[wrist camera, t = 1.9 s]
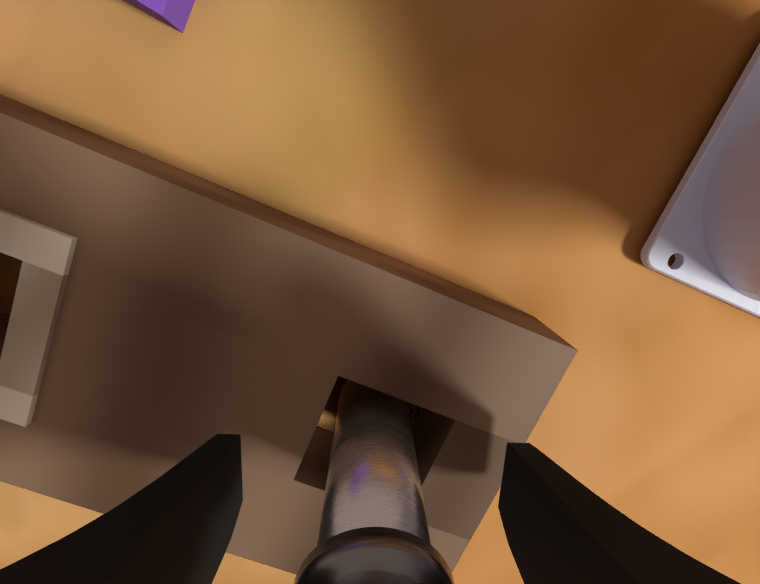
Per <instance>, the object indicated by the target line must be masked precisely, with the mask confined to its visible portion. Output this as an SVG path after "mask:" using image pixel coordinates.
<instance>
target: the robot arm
mask: <svg viewBox="0 0 760 584" xmlns="http://www.w3.org/2000/svg"><path fill="white" fill-rule="evenodd" d="M673 254H675V261H674V263H673V264H672V265H671V266H668V259H669V257H670V256H671V255H673ZM641 261H642V263H643V265H645V266H646V267H647V268H649V269H652V270H654V271H656V272H658V273H661V274H663V275H665V276H667V277H670V278H672V279H674V280H676V281H679V282H681V283H683V284H685V285H687V286H690V287H692V288H694V289H696V290H699V291H701V292H703V293H705V294H708V295H710V296H712V297H714V298H717V299H719V300H721V301H723V302H725V303H728V304H730V305H732V306H734V307H737V308H739V309H741V310H743V311H746V312H748V313H750V314H752V315H755V316H757V317H759V318H760V43H759V45H758V46H757V48H756V50H755V52H754V53H753V55H752V57H751V59H750V60H749V62H748V64H747V66H746V67H745V69H744V71H743V73H742V74H741V76H740V78H739V80H738V81H737V83H736V85H735V87H734V88H733V90H732V92H731V94H730V95H729V97H728V99H727V101H726V102H725V104H724V106H723V108H722V109H721V111H720V113H719V115H718V117H717V118H716V120H715V122H714V124H713V125H712V127H711V129H710V131H709V132H708V134H707V136H706V138H705V139H704V141H703V143H702V145H701V146H700V148H699V150H698V152H697V153H696V155H695V157H694V159H693V160H692V162H691V164H690V166H689V167H688V169H687V171H686V173H685V174H684V176H683V178H682V180H681V181H680V183H679V185H678V187H677V188H676V190H675V192H674V194H673V195H672V197H671V199H670V201H669V202H668V204H667V206H666V208H665V209H664V211H663V213H662V215H661V216H660V218H659V220H658V222H657V223H656V225H655V227H654V229H653V230H652V232H651V234H650V236H649V237H648V239H647V241H646V243H645V244H644V246H643V248H642V251H641ZM242 502H243V487H242V460H241V434H217V435H215V436H214V437H212V438H211V439H209V440H208V441H207V442H205V443H204V444H203V445H201V446H200V447H199V448H198V449H196V450H195V451H194V452H192V453H191V454H190V455H188V456H187V457H186V458H184V459H183V460H182V461H180V462H179V463H178V464H176V465H175V466H174V467H172V468H171V469H170V470H168V471H167V472H166V473H164V474H163V475H162V476H160V477H159V478H157V479H156V480H155V481H153V482H152V483H150V484H149V485H147V486H146V487H144V488H143V489H141V490H140V491H139V492H137V493H136V494H134V495H133V496H131V497H130V498H128V499H127V500H125V501H124V502H122V503H121V504H119V505H118V506H116V507H115V508H113V509H112V510H110V511H108V512H107V513H105V514H103V515H102V516H100V517H99V518H97V519H95V520H94V521H92V522H90V523H88V524H87V525H85V526H83V527H81V528H80V529H78V530H76V531H75V532H73V533H71V534H69V535H67V536H66V537H64V538H62V539H60V540H58V541H56V542H54V543H52V544H50V545H48V546H46V547H44V548H42V549H40V550H38V551H36V552H34V553H33V554H31V555H29V556H27V557H25V558H23V559H21V560H19V561H17V562H15V563H13V564H11V565H9V566H7V567H5V568H3V569H0V584H212V581H213V579H214V577H215V575H216V572H217V570H218V568H219V566H220V563H221V561H222V559H223V556H224V554H225V552H226V549H227V547H228V545H229V542H230V540H231V537H232V534H233V531H234V528H235V525H236V522H237V518H238V515H239V512H240V508H241V505H242ZM498 507H499V511H500V515H501V519H502V523H503V526H504V530H505V533H506V537H507V540H508V544H509V547H510V549H511V552H512V554H513V557H514V559H515V562H516V564H517V567H518V569H519V572H520V574H521V577H522V579H523V581H524V584H740V583H738V582H736V581H735V580H733V579H731V578H729V577H727V576H725V575H723V574H721V573H720V572H718V571H716V570H714V569H712V568H710V567H708V566H707V565H705V564H703V563H701V562H699V561H697V560H696V559H694V558H692V557H690V556H689V555H687V554H685V553H683V552H682V551H680V550H678V549H677V548H675V547H673V546H672V545H670V544H669V543H667V542H665V541H664V540H662V539H660V538H659V537H657V536H655V535H654V534H652V533H651V532H649V531H647V530H646V529H644V528H643V527H641V526H640V525H638V524H637V523H635V522H634V521H632V520H631V519H629V518H628V517H627V516H625V515H624V514H622V513H621V512H619V511H618V510H617V509H615V508H614V507H612V506H611V505H609V504H608V503H607V502H605V501H604V500H603V499H601V498H600V497H599V496H597V495H596V494H595V493H593V492H592V491H591V490H589V489H588V488H587V487H585V486H584V485H583V484H581V483H580V482H579V481H578V480H576V479H575V478H574V477H572V476H571V475H570V474H569V473H567V472H566V471H565V470H564V469H562V468H561V467H560V466H559V465H557V464H556V463H555V462H554V461H552V460H551V459H550V458H548V457H547V456H546V455H545V454H543V453H542V452H541V451H539V450H538V449H537V448H535V447H534V446H533V445H531V444H530V443H508V442H507V446H506V453H505V460H504V468H503V475H502V483H501V490H500V497H499V505H498Z"/></svg>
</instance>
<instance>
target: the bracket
mask: <svg viewBox="0 0 760 584" xmlns="http://www.w3.org/2000/svg"><path fill="white" fill-rule="evenodd" d="M124 1H126V2H127V3H129V4H131V5H133V6H135V7H137V8H138V9H140V10H142V11H144V12H146V13H147V14H149V15H151V16H153V17H155V18H156V19H158V20H160V21H162V22H164V23H165V24H167V25H169V26H171V27H173V28H174V29H176V30H178V31H180V32H182V33H183V31H184V29H185V26H186V23H187V20H188V18H189V15H190V12H191V10H192V7H193V4H194V1H195V0H124Z"/></svg>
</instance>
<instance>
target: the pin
mask: <svg viewBox="0 0 760 584" xmlns="http://www.w3.org/2000/svg"><path fill="white" fill-rule="evenodd" d="M294 584H454V582H453V577H452V574H451V571H450V568H449V566H448V564H447V563H446V561H445V559H444V558H443V557H442V555H441V554H440V553H439V552H438V551H437V550H436V549H435V548H434V547H433V546H432V545H431V542H430V536H429V530H428V524H427V518H426V512H425V506H424V500H423V494H422V488H421V482H420V476H419V470H418V464H417V458H416V452H415V446H414V440H413V434H412V429H411V423H410V417H409V411H408V405H407V401H404V400H401V399H399V398H396V397H393V396H391V395H388V394H385V393H383V392H380V391H377V390H375V389H372V388H369V387H367V386H364V385H362V384H359V383H356V382H354V381H351V380H348V379H347V381H346V382H345V383H344V385H343V387H342V389H341V392H340V398H339V404H338V410H337V417H336V423H335V430H334V436H333V443H332V449H331V456H330V462H329V468H328V475H327V481H326V488H325V494H324V501H323V507H322V514H321V520H320V526H319V533H318V539H317V546H316V548H315V549H314V550H313V551H312V552H311V553H309V554H308V556H307V557H306V558H305V560H304V561H303V562H302V564H301V566H300V568H299V570H298V572H297V575H296V578H295V583H294Z"/></svg>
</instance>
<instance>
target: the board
mask: <svg viewBox="0 0 760 584" xmlns="http://www.w3.org/2000/svg"><path fill="white" fill-rule="evenodd" d="M0 252H1V253H3V254H6V255H9V256H11V257H14V258H17V259H19V260H22V265H21V270H20V274H19V279H18V283H17V288H16V292H15V297H14V301H13V306H12V310H11V314H10V317H9V316H6V315H4V314H1V313H0V481H2V482H5V483H8V484H11V485H14V486H17V487H21V488H24V489H27V490H30V491H33V492H36V493H40V494H43V495H46V496H49V497H52V498H55V499H59V500H62V501H65V502H68V503H71V504H74V505H78V506H81V507H84V508H87V509H90V510H94V511H97V512H100V513H103V514H105V513H107V512H108V511H110V510H112V509H113V508H115V507H116V506H118V505H119V504H121V503H122V502H124V501H125V500H127V499H128V498H130V497H131V496H133V495H134V494H136V493H137V492H139V491H140V490H141V489H143V488H144V487H146V486H147V485H149V484H150V483H152V482H153V481H155V480H156V479H157V478H159V477H160V476H162V475H163V474H164V473H166V472H167V471H168V470H170V469H171V468H172V467H174V466H175V465H176V464H178V463H179V462H180V461H182V460H183V459H184V458H186V457H187V456H188V455H190V454H191V453H192V452H194V451H195V450H196V449H198V448H199V447H200V446H201V445H203V444H204V443H205V442H207V441H208V440H209V439H211V438H212V437H214V436H215V435H217V434H241V460H242V487H243V502H242V505H241V508H240V512H239V515H238V518H237V522H236V525H235V528H234V531H233V534H232V537H231V540H230V542H229V545H228V547H227V549H226V552H227V553H230V554H233V555H236V556H239V557H243V558H246V559H249V560H252V561H255V562H258V563H262V564H265V565H268V566H271V567H274V568H277V569H281V570H284V571H287V572H290V573H293V574H297V572H298V570H299V568H300V566H301V564H302V562H303V561H304V560H305V558H306V557H307V556H308V554H309V553H311V552H312V551H313V550H314V549H315V548H316V546H317V539H318V533H319V526H320V520H321V514H322V507H323V501H324V494H325V488H326V481H327V475H328V468H329V462H330V456H331V449H332V443H333V436H334V433H332V432H329V431H326V430H324V429H321V428H318V427H316V426H317V424H318V421H319V419H320V417H321V414H322V412H323V410H324V408H325V405H326V403H327V401H328V398H329V396H330V394H331V391H332V389H333V387H334V384H335V382H336V380H337V377H338V376H340V377H343V378H346V379H348V380H351V381H354V382H356V383H359V384H362V385H364V386H367V387H369V388H372V389H375V390H377V391H380V392H383V393H385V394H388V395H391V396H393V397H396V398H399V399H401V400H404V401H407V402H409V403H412V404H415V405H417V406H420V407H423V408H422V410H421V412H420V414H419V416H418V418H417V420H416V422H415V424H414V426H413V429H412V434H413V440H414V446H415V452H416V458H417V464H418V470H419V476H420V482H421V488H422V494H423V500H424V506H425V512H426V518H427V524H428V530H429V536H430V542H431V545H432V546H433V547H434V548H435V549H436V550H437V551H438V552H439V553H440V554H441V555H442V557H443V558H444V559H445V561H446V563H447V564H448V566H449V568H450V571H451V573H452V571H453V569H454V568H455V566H456V564H457V562H458V561H459V559H460V557H461V555H462V554H463V552H464V550H465V548H466V547H467V545H468V543H469V541H470V539H471V538H472V536H473V534H474V532H475V531H476V529H477V527H478V525H479V524H480V522H481V520H482V518H483V517H484V515H485V513H486V511H487V509H488V508H489V506H490V504H491V502H492V501H493V499H494V497H495V495H496V494H497V492H498V490H499V488H500V487H501V483H502V475H503V468H504V460H505V453H506V446H507V442H508V443H525V442H526V441H527V439H528V437H529V435H530V434H531V432H532V430H533V428H534V427H535V425H536V423H537V421H538V419H539V418H540V416H541V414H542V412H543V411H544V409H545V407H546V405H547V404H548V402H549V400H550V398H551V397H552V395H553V393H554V391H555V389H556V388H557V386H558V384H559V382H560V381H561V379H562V377H563V375H564V374H565V372H566V370H567V368H568V367H569V365H570V363H571V361H572V359H573V358H574V356H575V354H576V352H577V351H578V350H576V349H575V348H574V347H573V346H571V345H570V344H569V343H567V342H566V341H565V340H564V339H562V338H561V337H560V336H558V335H557V334H556V333H555V332H553V331H552V330H551V329H549V328H548V327H547V326H546V325H544V324H543V323H542V322H540V321H539V320H538V319H537V318H535V317H533V316H530V315H528V314H525V313H523V312H521V311H518V310H516V309H513V308H511V307H509V306H506V305H504V304H501V303H499V302H497V301H494V300H492V299H489V298H487V297H485V296H482V295H480V294H477V293H475V292H473V291H470V290H468V289H465V288H463V287H461V286H458V285H456V284H453V283H451V282H449V281H446V280H444V279H441V278H439V277H437V276H434V275H432V274H429V273H427V272H425V271H422V270H420V269H417V268H415V267H413V266H410V265H408V264H405V263H403V262H401V261H398V260H396V259H393V258H391V257H389V256H386V255H384V254H381V253H379V252H377V251H374V250H372V249H369V248H367V247H365V246H362V245H360V244H357V243H355V242H353V241H350V240H348V239H345V238H343V237H341V236H338V235H336V234H333V233H331V232H329V231H326V230H324V229H321V228H319V227H317V226H314V225H312V224H309V223H307V222H305V221H302V220H300V219H297V218H295V217H293V216H290V215H288V214H285V213H283V212H281V211H278V210H276V209H273V208H271V207H269V206H266V205H264V204H261V203H259V202H257V201H254V200H252V199H249V198H247V197H245V196H242V195H240V194H237V193H235V192H233V191H230V190H228V189H225V188H223V187H221V186H218V185H216V184H213V183H211V182H209V181H206V180H204V179H201V178H199V177H197V176H194V175H192V174H189V173H187V172H185V171H182V170H180V169H177V168H175V167H173V166H170V165H168V164H165V163H163V162H161V161H158V160H156V159H153V158H151V157H149V156H146V155H144V154H141V153H139V152H137V151H134V150H132V149H129V148H127V147H125V146H122V145H120V144H117V143H115V142H113V141H110V140H108V139H105V138H103V137H101V136H98V135H96V134H93V133H91V132H89V131H86V130H84V129H81V128H79V127H77V126H74V125H72V124H69V123H67V122H65V121H62V120H60V119H57V118H55V117H53V116H50V115H48V114H45V113H43V112H41V111H38V110H36V109H33V108H31V107H29V106H26V105H24V104H21V103H19V102H17V101H14V100H12V99H9V98H7V97H5V96H2V95H0Z"/></svg>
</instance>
